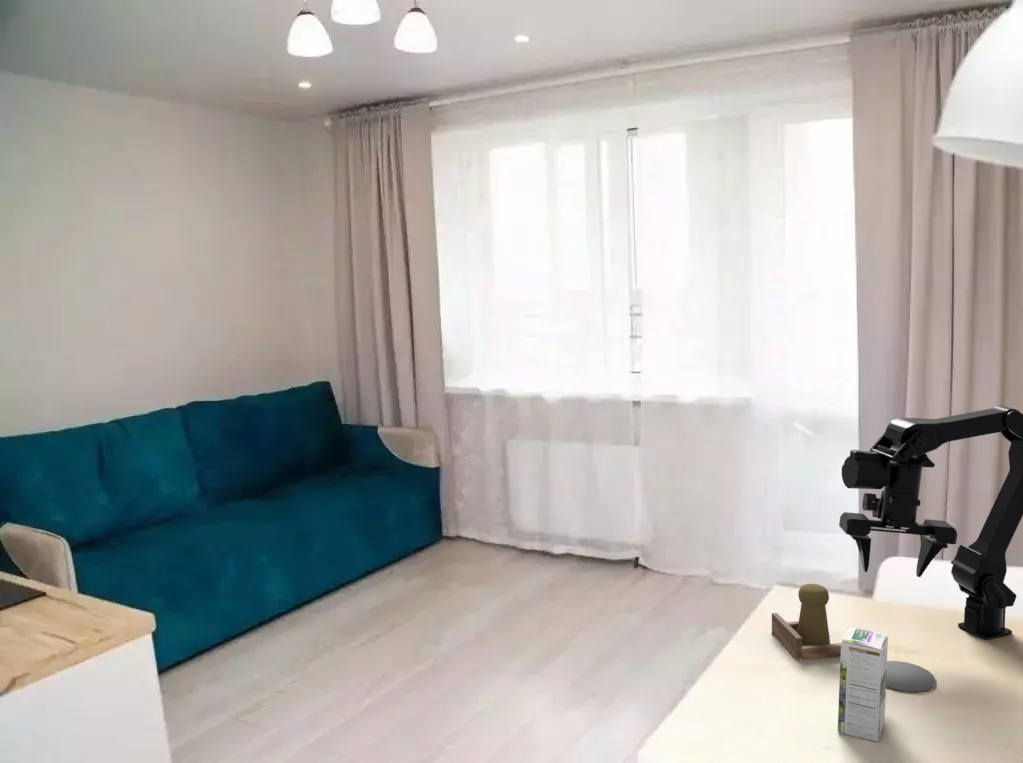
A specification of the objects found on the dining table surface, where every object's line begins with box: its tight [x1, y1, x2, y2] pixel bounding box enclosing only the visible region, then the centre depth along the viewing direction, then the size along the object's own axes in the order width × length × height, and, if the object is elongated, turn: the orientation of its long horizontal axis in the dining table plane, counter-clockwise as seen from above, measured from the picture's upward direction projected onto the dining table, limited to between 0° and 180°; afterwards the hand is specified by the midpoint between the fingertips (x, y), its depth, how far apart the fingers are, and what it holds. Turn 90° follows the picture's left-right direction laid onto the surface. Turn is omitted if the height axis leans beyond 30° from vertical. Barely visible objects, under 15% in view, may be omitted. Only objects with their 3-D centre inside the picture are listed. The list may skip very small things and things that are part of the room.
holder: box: [771, 612, 841, 661], centre depth 156 cm, size 10×11×4 cm
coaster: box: [886, 660, 936, 693], centre depth 143 cm, size 10×10×1 cm
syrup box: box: [837, 627, 889, 742], centre depth 127 cm, size 6×6×14 cm
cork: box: [797, 583, 831, 646], centre depth 156 cm, size 6×6×11 cm
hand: (891, 573), depth 156 cm, fingers open, 9 cm apart
